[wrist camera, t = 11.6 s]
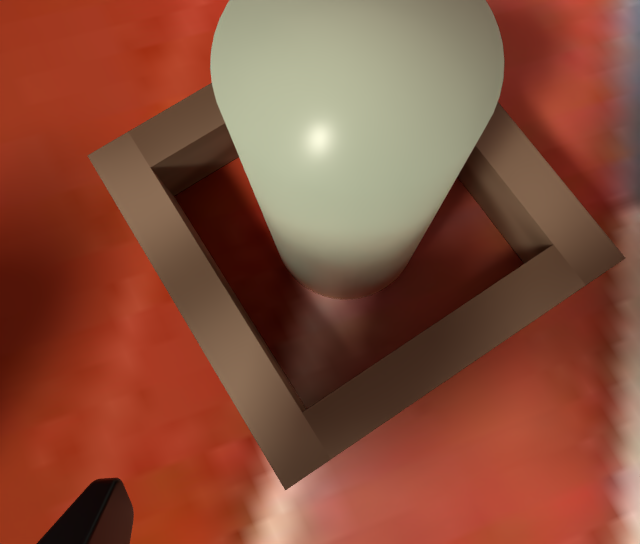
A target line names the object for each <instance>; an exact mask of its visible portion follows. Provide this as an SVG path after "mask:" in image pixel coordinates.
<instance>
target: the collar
mask: <svg viewBox="0 0 640 544" xmlns="http://www.w3.org/2000/svg"><path fill="white" fill-rule="evenodd" d="M88 157H89V159H90V161H91V162H92V164H93V166H94V167H95V169H96V171H97V172H98V174H99V176H100V178H101V179H102V181H103V183H104V184H105V186H106V188H107V189H108V191H109V193H110V194H111V196H112V198H113V200H114V201H115V203H116V205H117V206H118V208H119V210H120V211H121V213H122V215H123V216H124V218H125V220H126V222H127V223H128V225H129V227H130V228H131V230H132V232H133V233H134V235H135V237H136V238H137V240H138V242H139V244H140V245H141V247H142V249H143V250H144V252H145V254H146V255H147V257H148V259H149V260H150V262H151V264H152V265H153V267H154V269H155V271H156V272H157V274H158V276H159V277H160V279H161V281H162V282H163V284H164V286H165V287H166V289H167V291H168V293H169V294H170V296H171V298H172V299H173V301H174V303H175V304H176V306H177V308H178V309H179V311H180V313H181V315H182V316H183V318H184V320H185V321H186V323H187V325H188V326H189V328H190V330H191V331H192V333H193V335H194V337H195V338H196V340H197V342H198V343H199V345H200V347H201V348H202V350H203V352H204V353H205V355H206V357H207V359H208V360H209V362H210V364H211V365H212V367H213V369H214V370H215V372H216V374H217V375H218V377H219V379H220V380H221V382H222V384H223V386H224V387H225V389H226V391H227V392H228V394H229V396H230V397H231V399H232V401H233V402H234V404H235V406H236V408H237V409H238V411H239V413H240V414H241V416H242V418H243V419H244V421H245V423H246V424H247V426H248V428H249V430H250V431H251V433H252V435H253V436H254V438H255V440H256V441H257V443H258V445H259V446H260V448H261V450H262V452H263V453H264V455H265V457H266V458H267V460H268V462H269V463H270V465H271V467H272V468H273V470H274V472H275V473H276V475H277V477H278V479H279V480H280V482H281V484H282V485H283V487H284V489H285V490H287V489H288V488H290V487H291V486H292V485H294V484H295V483H297V482H298V481H300V480H301V479H303V478H304V477H306V476H307V475H309V474H310V473H312V472H313V471H314V470H316V469H317V468H319V467H320V466H322V465H323V464H325V463H326V462H328V461H329V460H331V459H332V458H333V457H335V456H336V455H338V454H339V453H341V452H342V451H344V450H345V449H347V448H348V447H350V446H351V445H353V444H354V443H355V442H357V441H358V440H360V439H361V438H363V437H364V436H366V435H367V434H369V433H370V432H372V431H373V430H374V429H376V428H377V427H379V426H380V425H382V424H383V423H385V422H386V421H388V420H389V419H391V418H392V417H394V416H395V415H396V414H398V413H399V412H401V411H402V410H404V409H405V408H407V407H408V406H410V405H411V404H413V403H414V402H416V401H417V400H418V399H420V398H421V397H423V396H424V395H426V394H427V393H429V392H430V391H432V390H433V389H435V388H436V387H437V386H439V385H440V384H442V383H443V382H445V381H446V380H448V379H449V378H451V377H452V376H454V375H455V374H457V373H458V372H459V371H461V370H462V369H464V368H465V367H467V366H468V365H470V364H471V363H473V362H474V361H476V360H477V359H478V358H480V357H481V356H483V355H484V354H486V353H487V352H489V351H490V350H492V349H493V348H495V347H496V346H498V345H499V344H500V343H502V342H503V341H505V340H506V339H508V338H509V337H511V336H512V335H514V334H515V333H517V332H518V331H520V330H521V329H522V328H524V327H525V326H527V325H528V324H530V323H531V322H533V321H534V320H536V319H537V318H539V317H540V316H541V315H543V314H544V313H546V312H547V311H549V310H550V309H552V308H553V307H555V306H556V305H558V304H559V303H561V302H562V301H563V300H565V299H566V298H568V297H569V296H571V295H572V294H574V293H575V292H577V291H578V290H580V289H581V288H582V287H584V286H585V285H587V284H588V283H590V282H591V281H593V280H594V279H596V278H597V277H599V276H600V275H602V274H603V273H604V272H606V271H607V270H609V269H610V268H612V267H613V266H615V265H616V264H618V263H619V262H621V261H622V260H623V259H625V257H624V256H623V254H622V253H621V252H620V251H619V250H618V248H617V247H616V246H615V245H614V243H613V242H612V241H611V240H610V239H609V237H608V236H607V235H606V234H605V232H604V231H603V230H602V229H601V228H600V226H599V225H598V224H597V223H596V221H595V220H594V219H593V218H592V217H591V215H590V214H589V213H588V212H587V210H586V209H585V208H584V207H583V205H582V204H581V203H580V202H579V201H578V199H577V198H576V197H575V196H574V194H573V193H572V192H571V191H570V190H569V188H568V187H567V186H566V185H565V183H564V182H563V181H562V180H561V179H560V177H559V176H558V175H557V174H556V172H555V171H554V170H553V169H552V168H551V166H550V165H549V164H548V163H547V161H546V160H545V159H544V158H543V157H542V155H541V154H540V153H539V152H538V150H537V149H536V148H535V147H534V146H533V144H532V143H531V142H530V141H529V139H528V138H527V137H526V136H525V135H524V133H523V132H522V131H521V130H520V128H519V127H518V126H517V125H516V124H515V122H514V121H513V120H512V119H511V117H510V116H509V115H508V114H507V112H506V111H505V110H504V109H503V108H502V106H501V105H500V104H499V103H498V102H497V105H496V108H495V110H494V113H493V115H492V116H491V118H490V120H489V122H488V124H487V126H486V127H485V129H484V131H483V133H482V134H481V136H480V138H479V140H478V141H477V143H476V145H475V147H474V148H473V150H472V152H471V154H470V155H469V157H468V159H467V161H466V162H465V164H464V166H463V168H462V169H461V171H460V173H459V175H458V176H457V177H458V178H459V179H460V181H461V182H462V183H463V185H464V186H465V187H466V188H467V190H468V191H469V192H470V194H471V195H472V196H473V198H474V199H475V200H476V202H477V203H478V204H479V205H480V207H481V208H482V209H483V211H484V212H485V213H486V215H487V216H488V217H489V218H490V220H491V221H492V222H493V224H494V225H495V226H496V228H497V229H498V230H499V232H500V233H501V234H502V235H503V237H504V238H505V239H506V241H507V242H508V243H509V245H510V246H511V247H512V248H513V250H514V251H515V252H516V254H517V255H518V256H519V258H520V259H521V260H522V261H523V263H524V265H522V266H521V267H519V268H518V269H516V270H515V271H513V272H512V273H510V274H509V275H507V276H506V277H504V278H503V279H501V280H500V281H498V282H497V283H495V284H494V285H492V286H491V287H489V288H488V289H486V290H485V291H483V292H482V293H480V294H479V295H477V296H476V297H474V298H473V299H471V300H470V301H468V302H467V303H465V304H464V305H462V306H461V307H459V308H458V309H456V310H455V311H453V312H452V313H450V314H449V315H447V316H446V317H444V318H443V319H441V320H440V321H438V322H437V323H435V324H434V325H432V326H431V327H429V328H428V329H426V330H425V331H423V332H422V333H420V334H419V335H417V336H416V337H414V338H413V339H411V340H410V341H408V342H407V343H405V344H404V345H402V346H401V347H399V348H398V349H396V350H395V351H393V352H392V353H390V354H389V355H387V356H386V357H384V358H383V359H381V360H380V361H378V362H377V363H375V364H374V365H372V366H371V367H369V368H368V369H366V370H365V371H363V372H362V373H360V374H359V375H357V376H356V377H354V378H353V379H351V380H350V381H348V382H347V383H345V384H344V385H342V386H341V387H339V388H338V389H336V390H335V391H333V392H332V393H330V394H329V395H327V396H326V397H324V398H323V399H322V400H320V401H319V402H317V403H316V404H314V405H313V406H311V407H310V408H308V409H306V407H305V406H304V404H303V403H302V401H301V399H300V398H299V396H298V395H297V393H296V391H295V390H294V388H293V387H292V385H291V383H290V382H289V380H288V379H287V377H286V375H285V374H284V372H283V370H282V369H281V367H280V366H279V364H278V362H277V361H276V359H275V358H274V356H273V354H272V353H271V351H270V350H269V348H268V346H267V345H266V343H265V342H264V340H263V338H262V337H261V335H260V333H259V332H258V330H257V329H256V327H255V325H254V324H253V322H252V321H251V319H250V317H249V316H248V314H247V313H246V311H245V309H244V308H243V306H242V305H241V303H240V301H239V300H238V298H237V296H236V295H235V293H234V292H233V290H232V288H231V287H230V285H229V284H228V282H227V280H226V279H225V277H224V276H223V274H222V272H221V271H220V269H219V268H218V266H217V264H216V263H215V261H214V260H213V258H212V256H211V255H210V253H209V251H208V250H207V248H206V247H205V245H204V243H203V242H202V240H201V239H200V237H199V235H198V234H197V232H196V231H195V229H194V227H193V226H192V224H191V223H190V221H189V219H188V218H187V216H186V214H185V213H184V211H183V210H182V208H181V206H180V205H179V203H178V202H177V200H176V198H175V197H174V196H175V195H176V194H178V193H180V192H181V191H183V190H185V189H186V188H188V187H190V186H191V185H193V184H195V183H196V182H198V181H199V180H201V179H203V178H204V177H206V176H208V175H209V174H211V173H213V172H214V171H216V170H218V169H219V168H221V167H223V166H224V165H226V164H228V163H229V162H231V161H233V160H234V159H236V158H238V157H239V155H238V153H237V150H236V148H235V145H234V143H233V141H232V138H231V136H230V133H229V131H228V129H227V126H226V124H225V121H224V119H223V116H222V114H221V112H220V109H219V107H218V104H217V102H216V98H215V94H214V90H213V86H212V83H211V84H209V85H207V86H206V87H204V88H202V89H200V90H199V91H197V92H195V93H194V94H192V95H190V96H189V97H187V98H185V99H183V100H182V101H180V102H178V103H177V104H175V105H173V106H171V107H170V108H168V109H166V110H165V111H163V112H161V113H159V114H158V115H156V116H154V117H153V118H151V119H149V120H147V121H146V122H144V123H142V124H141V125H139V126H137V127H136V128H134V129H132V130H130V131H129V132H127V133H125V134H124V135H122V136H120V137H118V138H117V139H115V140H113V141H112V142H110V143H108V144H106V145H105V146H103V147H101V148H100V149H98V150H96V151H94V152H93V153H91V154H89V155H88Z"/></svg>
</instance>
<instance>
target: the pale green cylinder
mask: <svg viewBox="0 0 640 544" xmlns="http://www.w3.org/2000/svg"><path fill="white" fill-rule="evenodd" d="M210 69H211V79H212V86H213V90H214V94H215V98H216V102H217V104H218V107H219V109H220V112H221V114H222V116H223V119H224V121H225V124H226V126H227V129H228V131H229V133H230V136H231V138H232V141H233V143H234V145H235V148H236V150H237V153H238V155H239V158H240V160H241V162H242V165H243V167H244V170H245V172H246V175H247V177H248V179H249V182H250V184H251V187H252V189H253V191H254V194H255V196H256V199H257V201H258V204H259V206H260V208H261V211H262V213H263V216H264V218H265V221H266V223H267V225H268V228H269V230H270V233H271V235H272V237H273V240H274V242H275V245H276V247H277V250H278V252H279V254H280V257H281V259H282V261H283V263H284V265H285V267H286V268H287V270H288V271H289V272H290V274H291V275H292V276H293V277H294V278H295V279H296V280H297V281H298V282H299V283H300V284H302V285H303V286H304V287H306V288H307V289H309V290H311V291H313V292H315V293H317V294H320V295H322V296H325V297H329V298H334V299H357V298H362V297H366V296H370V295H372V294H374V293H377V292H379V291H381V290H382V289H384V288H386V287H387V286H388V285H390V284H391V283H392V282H394V280H395V279H396V278H397V277H398V276H399V275H400V274H401V273H402V271H403V270H404V269H405V267H406V266H407V264H408V262H409V260H410V259H411V257H412V255H413V253H414V252H415V250H416V248H417V246H418V245H419V243H420V241H421V239H422V238H423V236H424V234H425V232H426V231H427V229H428V227H429V225H430V224H431V222H432V220H433V218H434V217H435V215H436V213H437V211H438V210H439V208H440V206H441V204H442V203H443V201H444V199H445V197H446V196H447V194H448V192H449V190H450V189H451V187H452V185H453V183H454V182H455V180H456V178H457V176H458V175H459V173H460V171H461V169H462V168H463V166H464V164H465V162H466V161H467V159H468V157H469V155H470V154H471V152H472V150H473V148H474V147H475V145H476V143H477V141H478V140H479V138H480V136H481V134H482V133H483V131H484V129H485V127H486V126H487V124H488V122H489V120H490V118H491V116H492V115H493V113H494V110H495V108H496V105H497V102H498V100H499V97H500V93H501V88H502V83H503V78H504V51H503V43H502V39H501V35H500V31H499V27H498V25H497V22H496V20H495V17H494V15H493V12H492V10H491V9H490V7H489V5H488V3H487V2H486V0H230V1H229V2H228V4H227V6H226V7H225V9H224V11H223V13H222V15H221V17H220V20H219V22H218V25H217V28H216V31H215V34H214V39H213V44H212V49H211V65H210Z"/></svg>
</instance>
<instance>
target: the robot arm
mask: <svg viewBox="0 0 640 544" xmlns="http://www.w3.org/2000/svg"><path fill="white" fill-rule="evenodd" d="M133 515H134V514H133V507H132V504H131V501H130V499H129V497H128V494H127V492H126V490H125V487H124V485H123V483H122V481H121V480H120V479H119V478H105V479H97V480H95V481H93V482H92V483H91V484H90V485H89V486H88V487H87V488H86V489H85V490H84V492H83V493H82V494H81V495H80V496H79V497H78V498H77V499H76V500H75V502H74V503H73V504H72V505H71V506H70V507H69V508H68V509H67V511H66V512H65V513H64V514H63V515H62V516H61V517H60V518H59V519H58V521H57V522H56V523H55V524H54V525H53V526H52V527H51V528H50V529H49V531H48V532H47V533H46V534H45V535H44V536H43V537H42V538H41V539H40V541H39V542H38V543H37V544H130V538H131V531H132V525H133Z"/></svg>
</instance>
